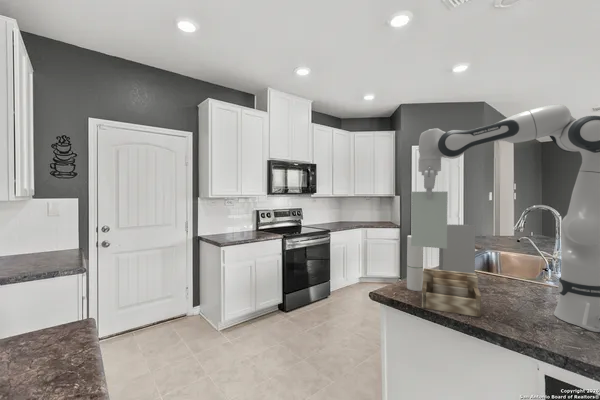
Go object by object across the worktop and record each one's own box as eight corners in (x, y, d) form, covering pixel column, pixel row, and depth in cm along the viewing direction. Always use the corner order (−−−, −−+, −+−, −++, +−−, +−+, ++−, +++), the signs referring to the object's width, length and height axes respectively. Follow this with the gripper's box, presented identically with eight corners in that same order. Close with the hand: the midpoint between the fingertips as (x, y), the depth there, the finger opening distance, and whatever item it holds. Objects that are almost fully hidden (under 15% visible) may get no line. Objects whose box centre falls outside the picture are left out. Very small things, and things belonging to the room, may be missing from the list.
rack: (475, 302, 118) (475, 273, 117) (480, 317, 104) (481, 285, 103) (423, 294, 126) (423, 268, 126) (421, 307, 112) (422, 277, 112)
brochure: (468, 285, 138) (469, 224, 137) (474, 289, 133) (475, 226, 132) (438, 284, 140) (439, 224, 139) (443, 288, 134) (444, 225, 133)
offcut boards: (465, 306, 113) (466, 274, 113) (467, 312, 108) (468, 279, 107) (433, 301, 118) (433, 271, 118) (432, 307, 113) (433, 275, 112)
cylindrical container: (421, 286, 137) (422, 235, 136) (424, 291, 130) (424, 238, 129) (406, 285, 139) (406, 235, 138) (407, 290, 132) (408, 237, 131)
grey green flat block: (446, 247, 120) (447, 191, 119) (446, 248, 118) (447, 191, 117) (411, 245, 126) (412, 191, 125) (411, 245, 124) (411, 191, 123)
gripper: (437, 165, 110) (437, 200, 110) (437, 168, 128) (437, 198, 129) (420, 165, 113) (420, 200, 113) (422, 169, 131) (422, 198, 132)
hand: (429, 199), depth 121 cm, fingers closed on grey green flat block, 2 cm apart
